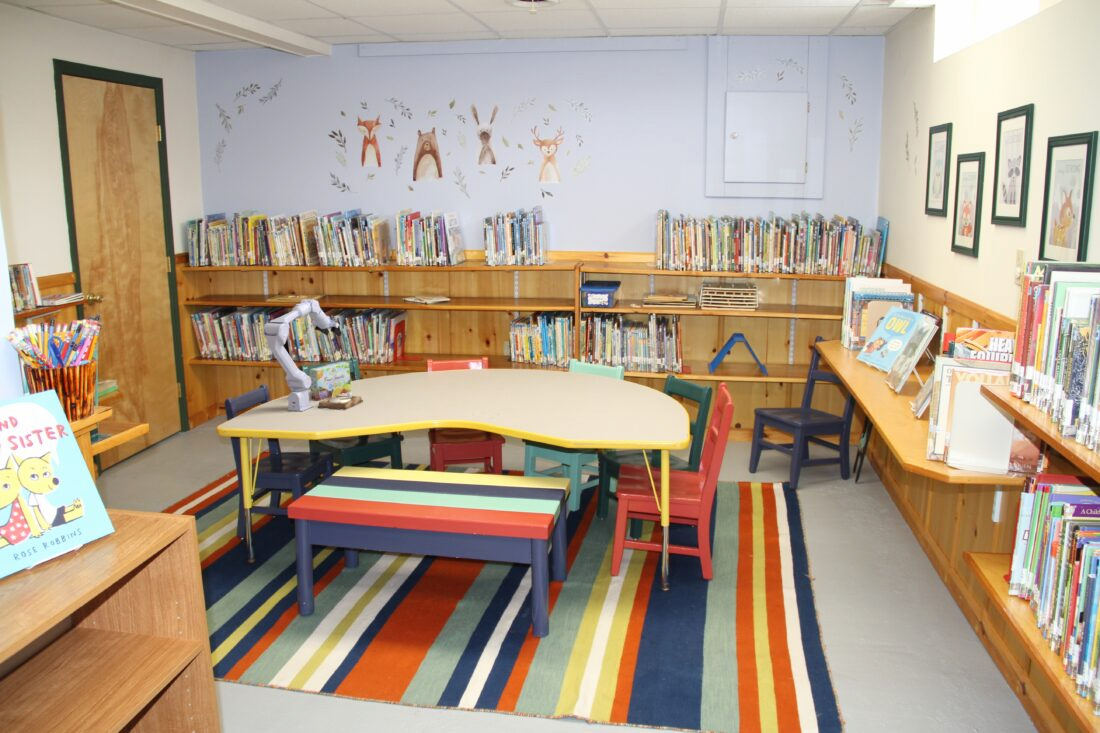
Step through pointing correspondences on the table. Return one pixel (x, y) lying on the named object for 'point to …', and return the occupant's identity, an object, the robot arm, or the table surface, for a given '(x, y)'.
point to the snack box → (330, 380)
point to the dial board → (344, 406)
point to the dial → (342, 398)
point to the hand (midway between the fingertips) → (333, 334)
